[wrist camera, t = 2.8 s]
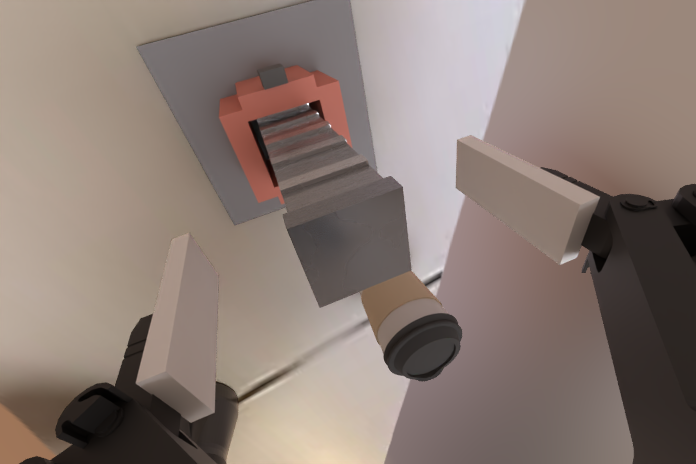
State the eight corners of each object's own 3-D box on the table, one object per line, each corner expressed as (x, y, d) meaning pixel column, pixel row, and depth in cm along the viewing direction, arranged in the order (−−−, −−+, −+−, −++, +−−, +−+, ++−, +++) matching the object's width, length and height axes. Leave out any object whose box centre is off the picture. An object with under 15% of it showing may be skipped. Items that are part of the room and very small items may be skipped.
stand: (234, 220, 32) (236, 263, 26) (139, 45, 22) (109, 53, 16) (374, 171, 34) (403, 200, 28) (344, -9, 24) (381, -18, 18)
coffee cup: (344, 253, 39) (395, 351, 27) (407, 236, 41) (480, 321, 29) (348, 300, 44) (392, 399, 33) (403, 284, 46) (464, 371, 35)
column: (269, 156, 28) (319, 307, 13) (250, 107, 25) (286, 229, 10) (314, 141, 28) (411, 270, 14) (300, 92, 26) (402, 186, 11)
